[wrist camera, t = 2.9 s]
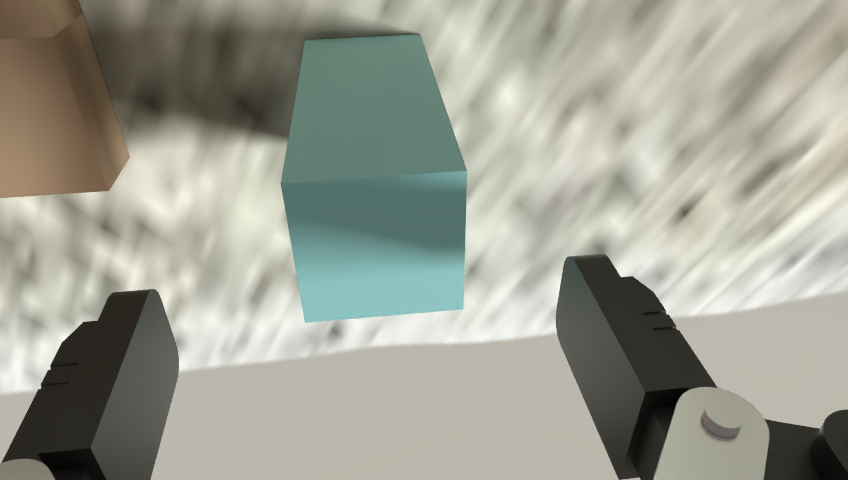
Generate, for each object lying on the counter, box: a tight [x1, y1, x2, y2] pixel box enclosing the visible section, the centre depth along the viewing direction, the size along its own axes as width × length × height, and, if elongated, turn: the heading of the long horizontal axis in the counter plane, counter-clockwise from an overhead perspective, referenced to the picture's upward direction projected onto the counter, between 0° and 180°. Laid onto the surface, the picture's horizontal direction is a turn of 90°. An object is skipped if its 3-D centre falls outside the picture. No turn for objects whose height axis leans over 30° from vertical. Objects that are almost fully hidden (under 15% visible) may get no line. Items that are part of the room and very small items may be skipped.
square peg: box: [281, 34, 467, 323], centre depth 18 cm, size 4×4×10 cm
